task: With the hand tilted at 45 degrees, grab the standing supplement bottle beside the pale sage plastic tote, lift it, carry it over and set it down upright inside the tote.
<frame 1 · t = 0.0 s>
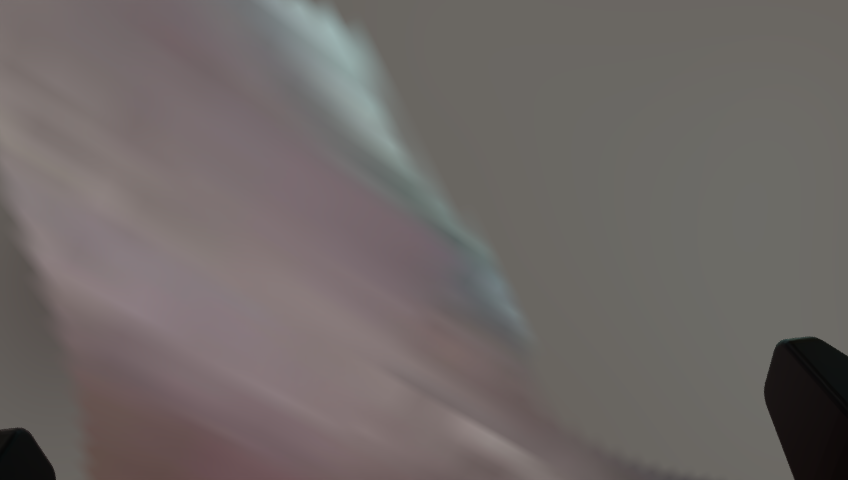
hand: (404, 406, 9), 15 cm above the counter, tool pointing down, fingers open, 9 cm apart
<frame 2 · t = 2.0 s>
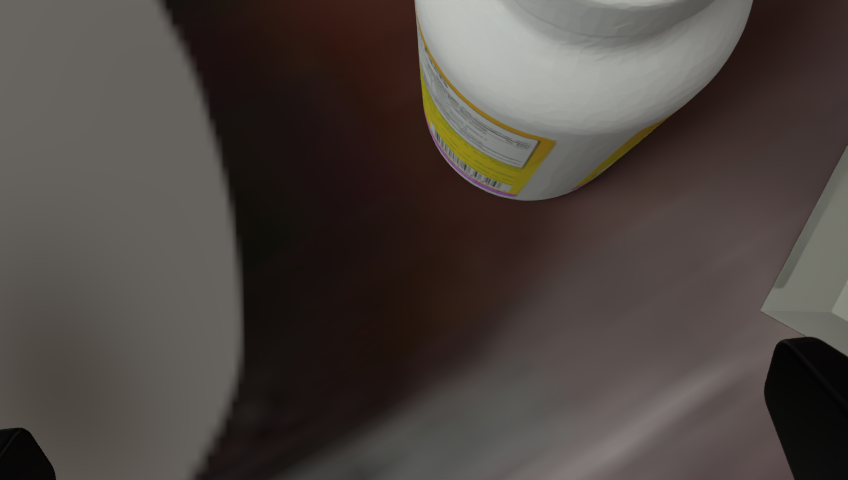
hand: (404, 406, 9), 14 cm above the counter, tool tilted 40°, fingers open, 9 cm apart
supplement bottle: (523, 104, 23), on the counter
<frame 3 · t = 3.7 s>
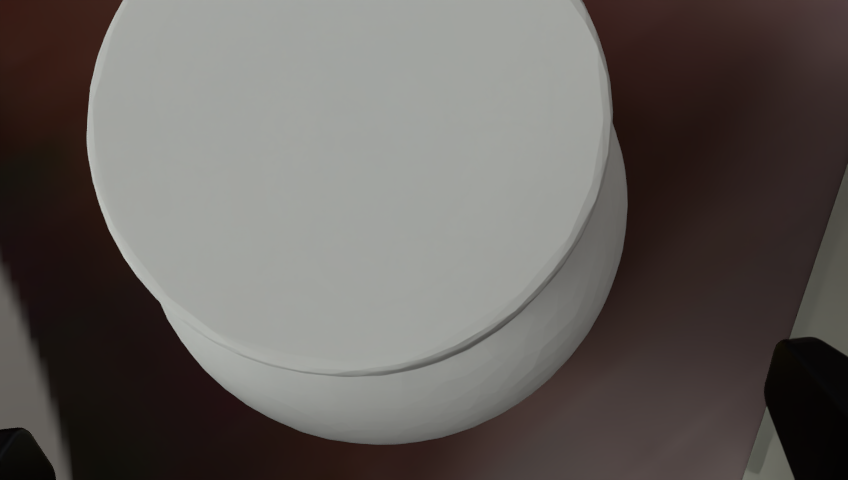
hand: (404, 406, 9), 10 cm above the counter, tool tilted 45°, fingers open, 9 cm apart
supplement bottle: (412, 272, 19), on the counter
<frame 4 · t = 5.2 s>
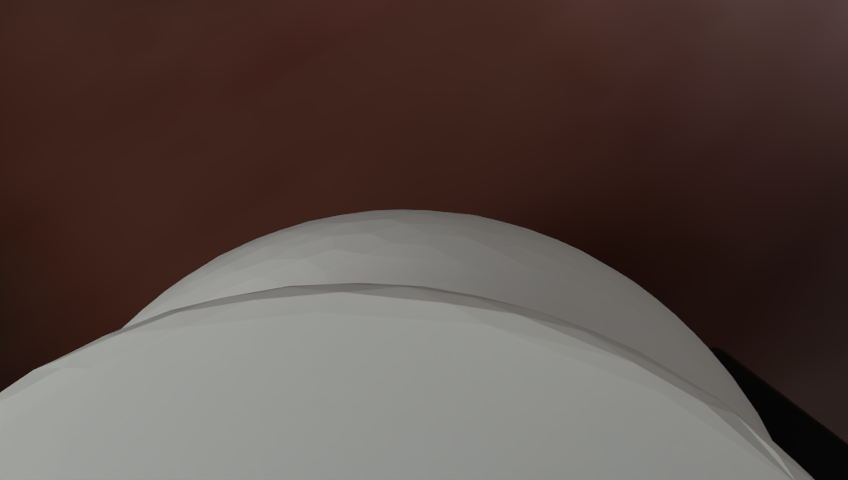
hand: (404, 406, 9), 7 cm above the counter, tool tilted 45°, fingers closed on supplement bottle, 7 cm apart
supplement bottle: (427, 446, 15), on the counter, touching gripper
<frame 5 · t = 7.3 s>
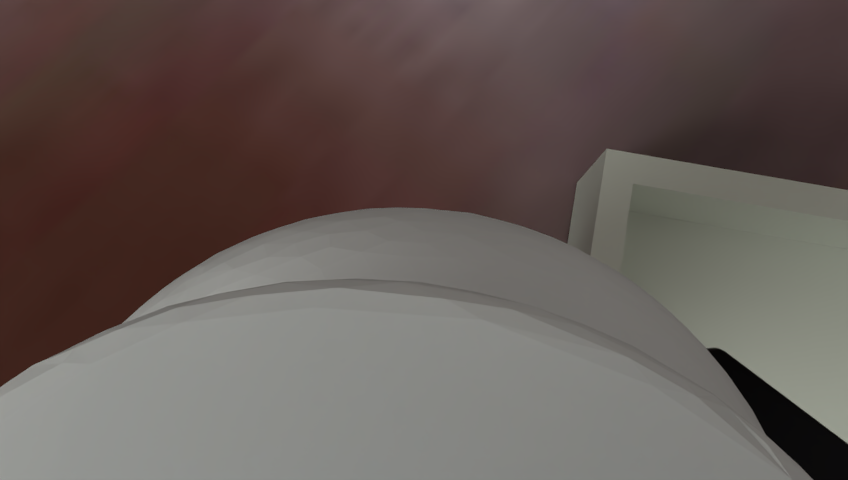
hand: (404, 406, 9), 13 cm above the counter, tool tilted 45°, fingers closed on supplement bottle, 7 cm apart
tote: (753, 420, 21), on the counter
supplement bottle: (424, 444, 15), point 6 cm above the counter, touching gripper
when the fingers open (8 cm above the counter, at t = 9.7 s): supplement bottle stays where it is, resting on tote.
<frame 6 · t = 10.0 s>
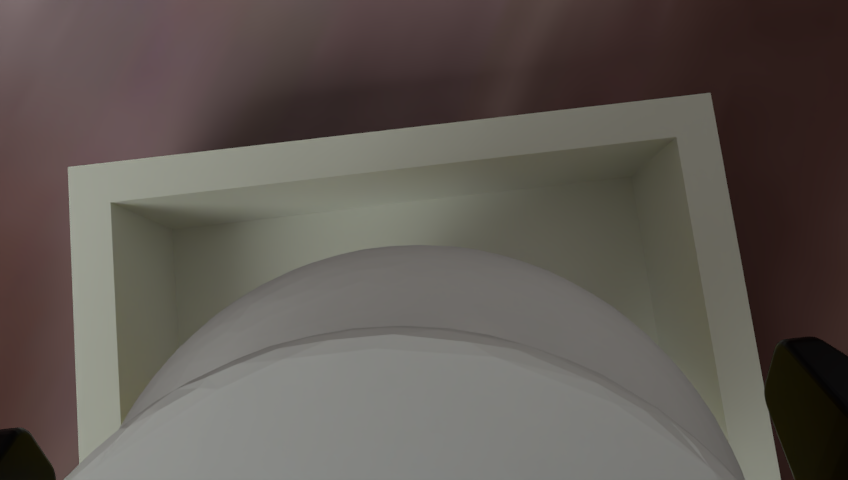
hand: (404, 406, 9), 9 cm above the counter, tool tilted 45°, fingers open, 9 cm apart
tote: (428, 435, 17), on the counter
supplement bottle: (428, 447, 16), point 1 cm above the counter, touching tote
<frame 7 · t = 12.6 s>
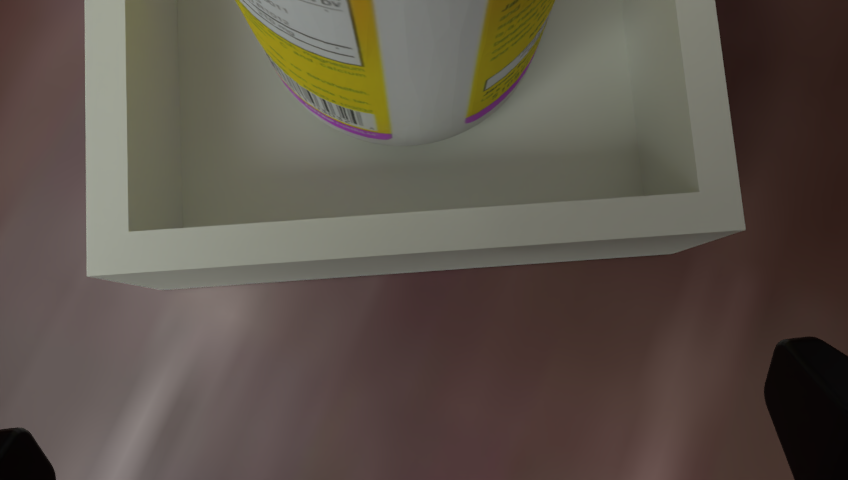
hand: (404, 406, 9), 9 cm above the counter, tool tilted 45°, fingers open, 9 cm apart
tote: (401, 29, 18), on the counter
supplement bottle: (401, 26, 18), point 1 cm above the counter, touching tote
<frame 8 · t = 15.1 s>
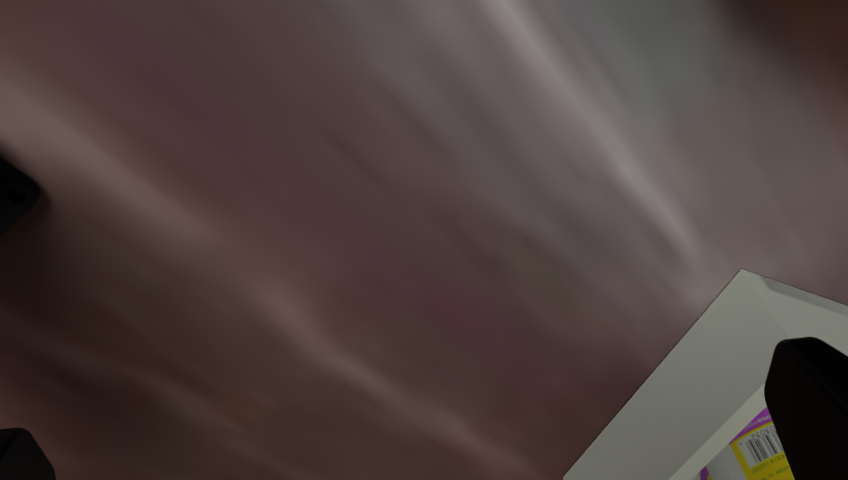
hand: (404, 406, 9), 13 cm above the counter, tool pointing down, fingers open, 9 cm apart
tote: (765, 419, 30), on the counter
supplement bottle: (768, 429, 29), point 1 cm above the counter, touching tote
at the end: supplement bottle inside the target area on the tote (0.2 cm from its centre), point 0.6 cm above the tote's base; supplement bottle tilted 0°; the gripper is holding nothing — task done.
